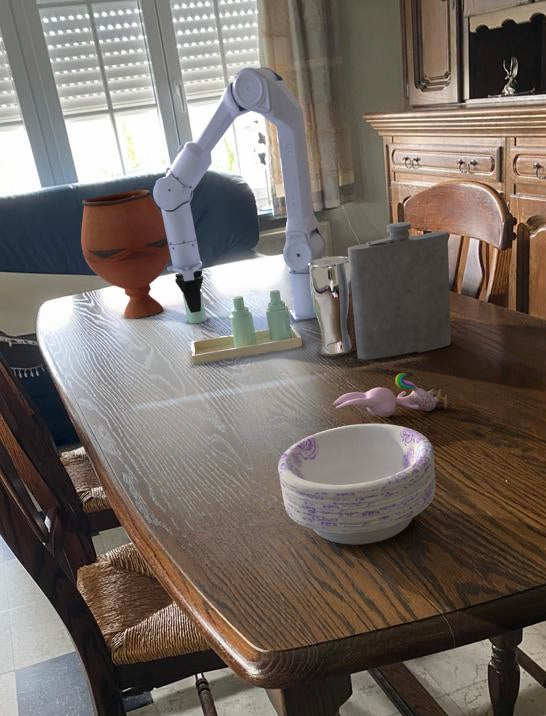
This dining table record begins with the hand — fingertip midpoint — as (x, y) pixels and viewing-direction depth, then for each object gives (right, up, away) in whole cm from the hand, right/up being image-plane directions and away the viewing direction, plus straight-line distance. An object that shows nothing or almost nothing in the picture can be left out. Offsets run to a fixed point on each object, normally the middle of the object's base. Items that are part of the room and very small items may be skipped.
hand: (195, 309), depth 156 cm
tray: (+12, -13, -22) cm, 28 cm away
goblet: (-14, +3, +13) cm, 19 cm away
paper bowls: (+29, -44, -80) cm, 95 cm away
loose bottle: (0, -2, +1) cm, 2 cm away
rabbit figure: (+34, -30, -56) cm, 72 cm away
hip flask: (+39, -16, -34) cm, 54 cm away
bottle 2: (+19, -12, -21) cm, 31 cm away
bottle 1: (+12, -13, -22) cm, 28 cm away
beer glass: (+29, -15, -29) cm, 44 cm away
